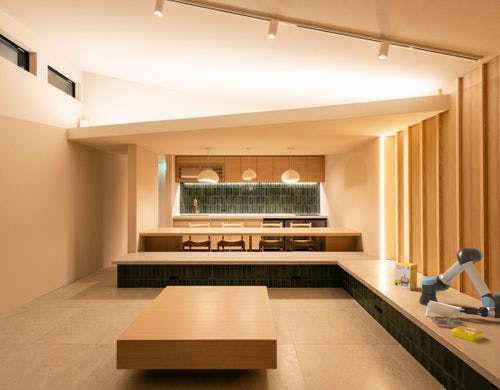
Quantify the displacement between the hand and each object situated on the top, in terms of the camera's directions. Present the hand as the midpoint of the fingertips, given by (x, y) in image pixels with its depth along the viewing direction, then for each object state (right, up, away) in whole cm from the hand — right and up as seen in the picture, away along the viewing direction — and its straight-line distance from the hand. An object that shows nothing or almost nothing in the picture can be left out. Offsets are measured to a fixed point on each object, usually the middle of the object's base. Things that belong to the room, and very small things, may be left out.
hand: (453, 309), depth 281 cm
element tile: (-13, -6, -39) cm, 42 cm away
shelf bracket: (-8, -6, +1) cm, 10 cm away
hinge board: (-12, -6, -16) cm, 21 cm away
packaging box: (+3, -8, +93) cm, 94 cm away
